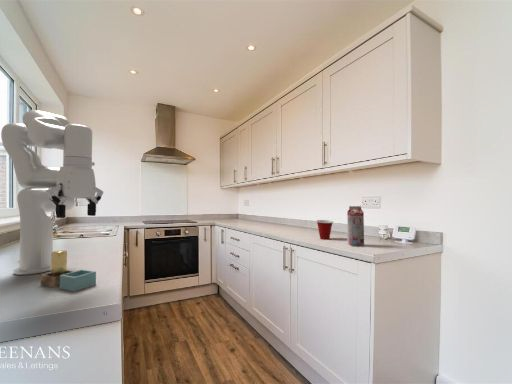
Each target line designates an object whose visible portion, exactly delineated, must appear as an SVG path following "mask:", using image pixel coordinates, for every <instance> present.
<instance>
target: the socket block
mask: <svg viewBox="0 0 512 384" xmlns="http://www.w3.org/2000/svg"><path fill="white" fill-rule="evenodd" d="M74 271H75V270H68V269H67V273H71V272H74ZM40 285H41V286H46V287H50V288H57V287H60V276H56V277H53V276H51V272H48V273H44V274H41V275H40Z"/></svg>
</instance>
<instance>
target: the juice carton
mask: <svg viewBox="0 0 512 384" xmlns="http://www.w3.org/2000/svg"><path fill="white" fill-rule="evenodd" d="M346 215H347V245H349V246H350V247H365V220H364V218H365V216H364V211H363V209H362V205H357V206H356V205H354V206H353V205H349V206H348V210H347V214H346Z"/></svg>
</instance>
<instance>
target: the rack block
mask: <svg viewBox="0 0 512 384" xmlns="http://www.w3.org/2000/svg"><path fill="white" fill-rule="evenodd" d="M73 271H74V272H71V273H67V274H63V275H60V286H59V289H60V290H66V291H69V292H70V291H71V292H76V291H79V290H83V289H86V288H89V287H93V286H95V285H97V271H95V270H87V269H80V270H79V269H78V270H76V271H75V270H73Z"/></svg>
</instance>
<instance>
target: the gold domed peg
mask: <svg viewBox="0 0 512 384" xmlns="http://www.w3.org/2000/svg"><path fill="white" fill-rule="evenodd" d="M67 266H68V250H56V251H55V250H53V252H51V270H50V273H51V276H53V277H56V276H60V275H63V274H67V270H68V267H67Z"/></svg>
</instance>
